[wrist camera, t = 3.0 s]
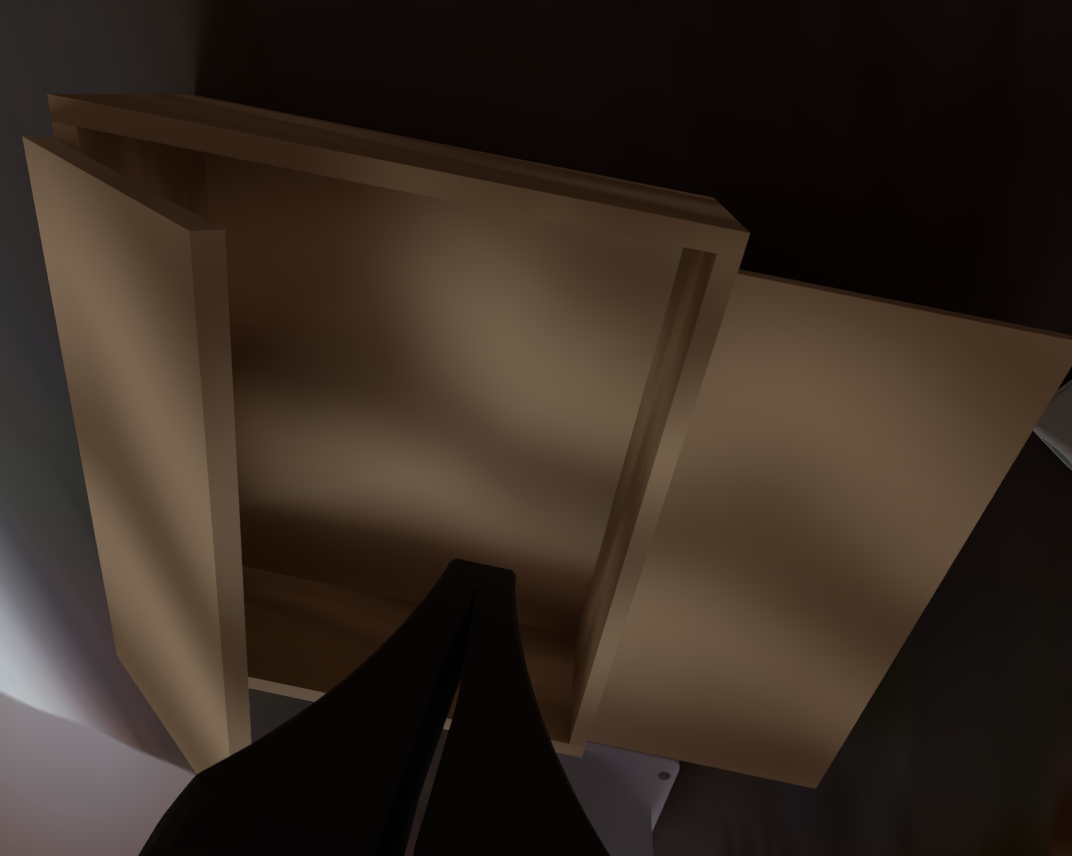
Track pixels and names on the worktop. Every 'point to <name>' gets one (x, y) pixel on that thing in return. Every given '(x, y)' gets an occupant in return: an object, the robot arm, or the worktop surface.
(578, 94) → the worktop surface
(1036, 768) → the worktop surface
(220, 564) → the carton flap
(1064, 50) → the worktop surface
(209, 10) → the worktop surface
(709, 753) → the carton
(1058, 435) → the syrup box
